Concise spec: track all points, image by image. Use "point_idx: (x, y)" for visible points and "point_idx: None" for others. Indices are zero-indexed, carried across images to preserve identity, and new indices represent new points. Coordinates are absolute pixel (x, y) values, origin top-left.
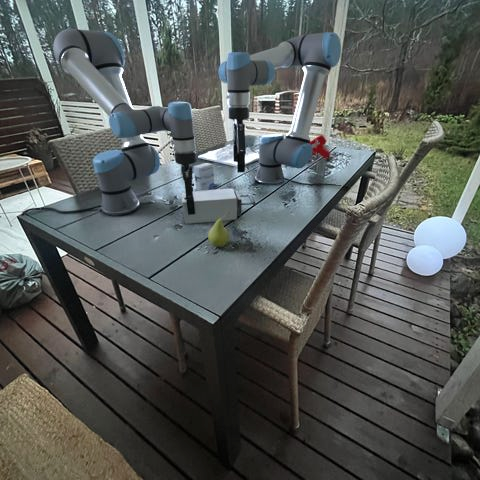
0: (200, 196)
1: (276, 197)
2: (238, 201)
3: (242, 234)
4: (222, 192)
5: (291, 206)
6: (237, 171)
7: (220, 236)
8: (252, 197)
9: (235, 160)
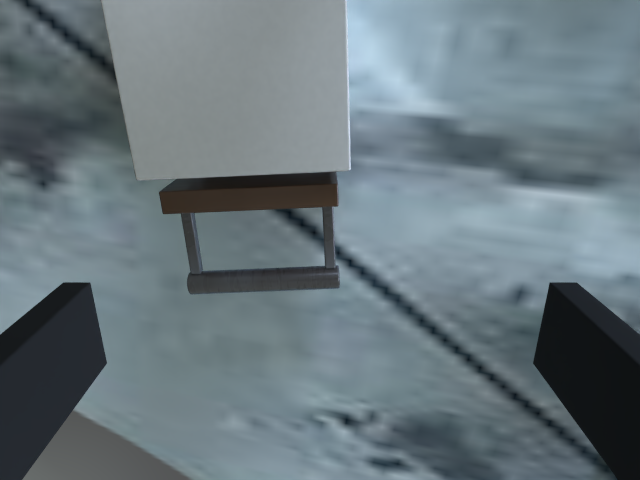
0: None
1: (443, 399)
2: (164, 188)
3: (20, 160)
4: (263, 69)
5: (320, 438)
6: (68, 287)
7: None
8: (271, 290)
9: (554, 314)
